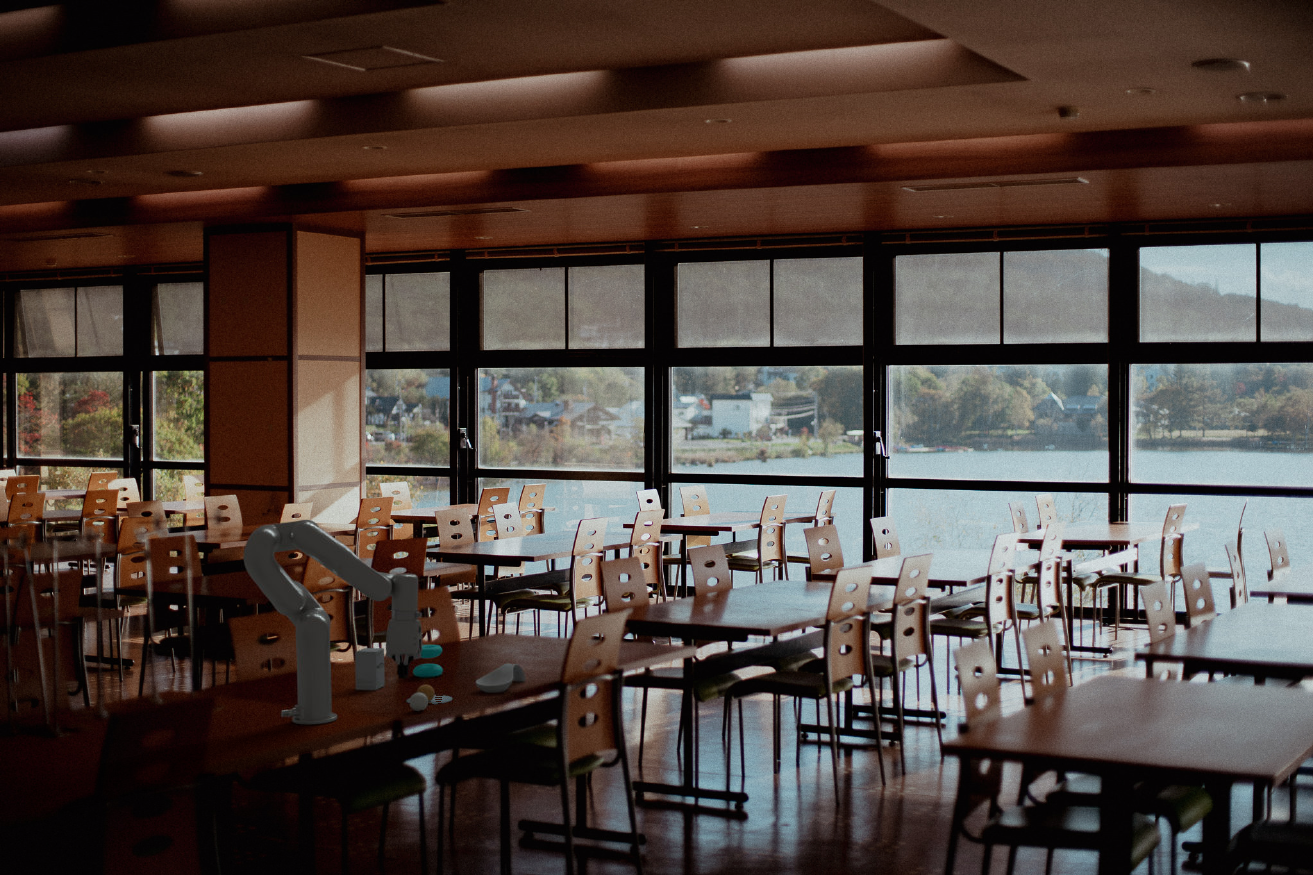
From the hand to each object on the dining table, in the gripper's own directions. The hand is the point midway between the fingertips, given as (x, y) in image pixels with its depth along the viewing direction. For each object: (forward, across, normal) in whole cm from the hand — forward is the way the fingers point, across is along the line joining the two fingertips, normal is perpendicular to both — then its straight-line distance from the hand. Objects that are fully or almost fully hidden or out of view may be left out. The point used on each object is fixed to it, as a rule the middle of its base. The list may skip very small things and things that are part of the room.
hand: (402, 677), depth 396 cm
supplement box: (+12, +25, -40) cm, 48 cm away
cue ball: (+8, -3, -6) cm, 11 cm away
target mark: (+11, -1, -22) cm, 24 cm away
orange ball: (+8, -1, -18) cm, 20 cm away
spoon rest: (+10, -19, -43) cm, 48 cm away
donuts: (+11, +13, -63) cm, 65 cm away
